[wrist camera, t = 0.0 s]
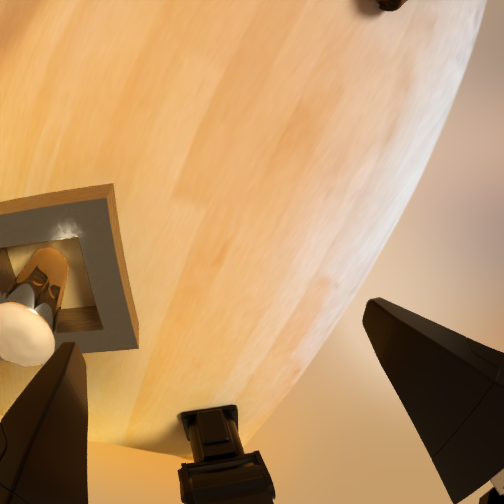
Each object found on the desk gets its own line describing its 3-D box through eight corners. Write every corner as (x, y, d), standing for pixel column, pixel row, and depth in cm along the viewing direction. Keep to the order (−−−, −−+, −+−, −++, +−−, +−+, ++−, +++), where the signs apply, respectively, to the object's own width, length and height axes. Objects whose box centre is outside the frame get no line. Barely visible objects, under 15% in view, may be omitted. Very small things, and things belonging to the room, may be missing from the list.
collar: (138, 323, 26) (138, 348, 23) (17, 333, 23) (9, 355, 20) (113, 183, 20) (106, 197, 17) (-28, 208, 17) (-46, 224, 15)
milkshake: (53, 305, 23) (25, 402, 14) (14, 255, 20) (-37, 344, 11) (93, 283, 23) (74, 384, 14) (55, 228, 20) (6, 316, 12)
